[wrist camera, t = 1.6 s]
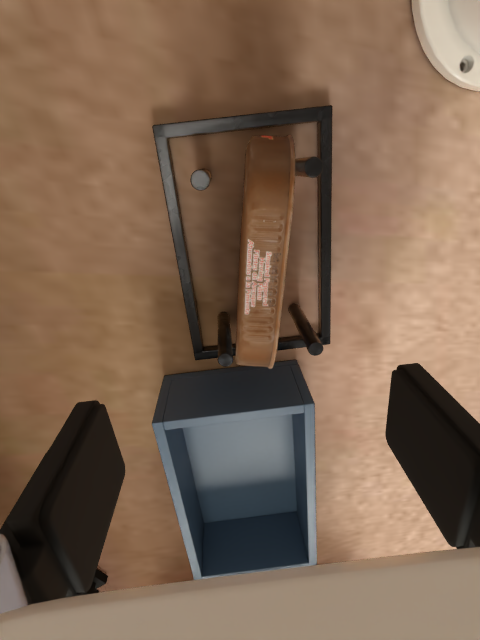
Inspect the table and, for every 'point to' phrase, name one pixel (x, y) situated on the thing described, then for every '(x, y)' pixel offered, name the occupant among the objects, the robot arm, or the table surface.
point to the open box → (241, 467)
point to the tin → (264, 247)
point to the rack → (201, 181)
